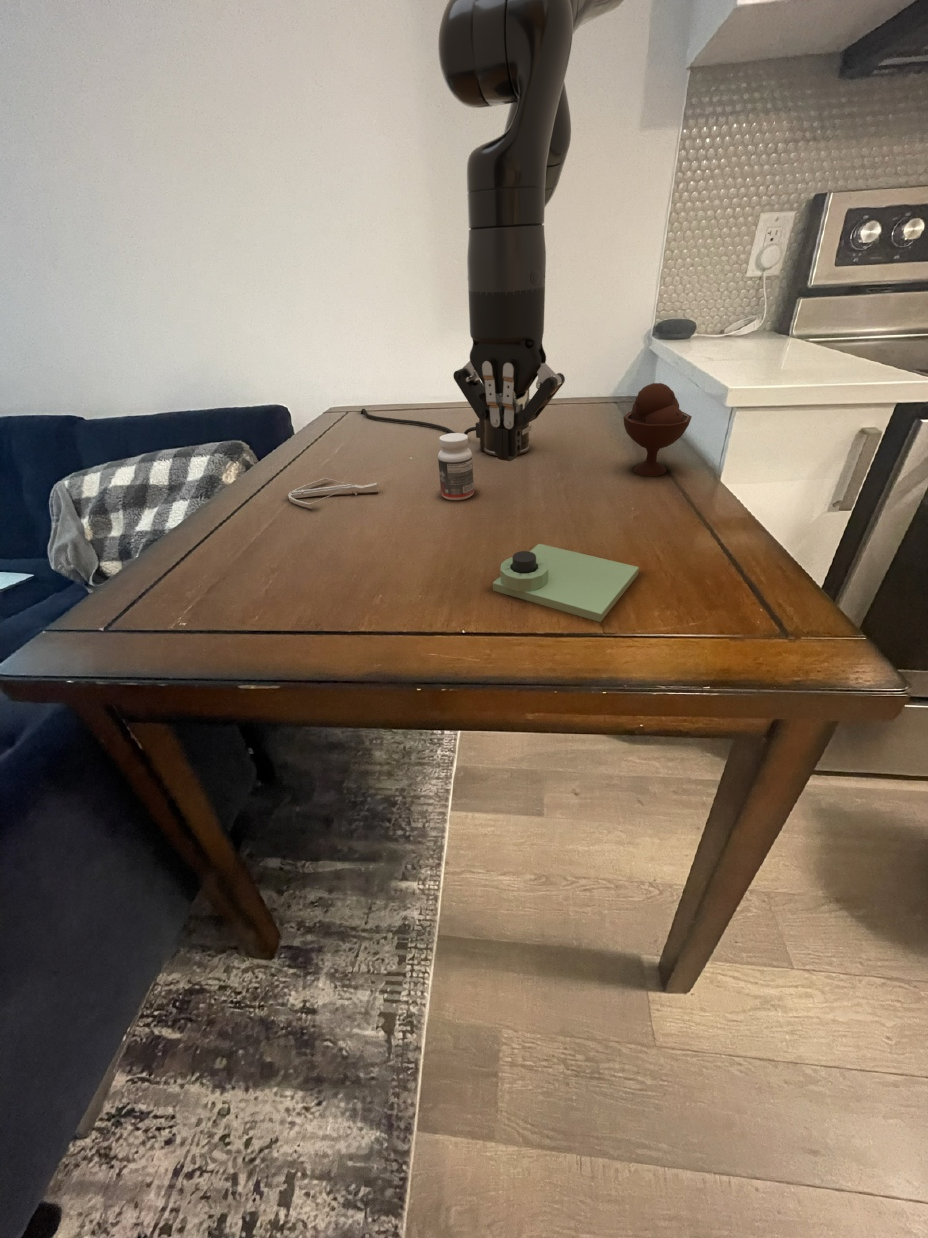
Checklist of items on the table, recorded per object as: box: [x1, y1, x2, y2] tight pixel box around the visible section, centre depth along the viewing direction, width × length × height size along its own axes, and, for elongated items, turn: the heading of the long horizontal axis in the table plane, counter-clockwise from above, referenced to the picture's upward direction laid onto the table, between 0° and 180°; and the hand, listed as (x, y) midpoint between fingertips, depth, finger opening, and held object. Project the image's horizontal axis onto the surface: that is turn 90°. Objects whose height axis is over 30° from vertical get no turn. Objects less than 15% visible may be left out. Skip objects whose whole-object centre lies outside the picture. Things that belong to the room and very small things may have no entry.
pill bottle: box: [437, 432, 475, 501], centre depth 91 cm, size 6×6×10 cm
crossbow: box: [287, 477, 380, 509], centre depth 96 cm, size 16×13×2 cm
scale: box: [492, 543, 640, 623], centre depth 66 cm, size 14×12×3 cm
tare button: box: [512, 550, 536, 574], centre depth 65 cm, size 3×3×2 cm
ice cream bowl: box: [623, 382, 693, 477], centre depth 94 cm, size 11×11×15 cm
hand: (507, 458), depth 63 cm, fingers closed
